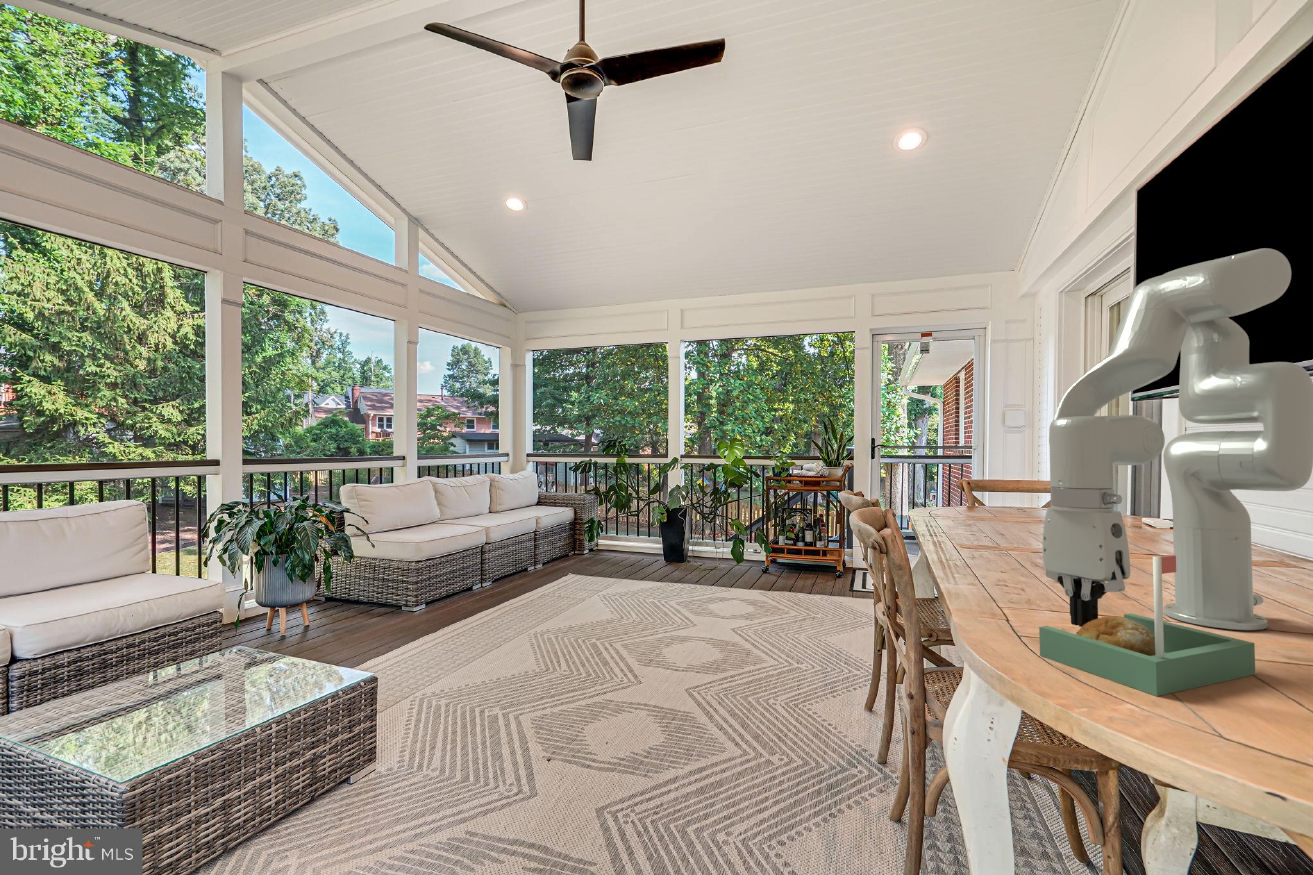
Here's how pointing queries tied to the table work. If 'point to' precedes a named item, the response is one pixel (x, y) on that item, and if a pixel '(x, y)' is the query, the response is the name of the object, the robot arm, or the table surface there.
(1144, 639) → the bread roll
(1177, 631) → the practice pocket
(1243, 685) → the table surface
